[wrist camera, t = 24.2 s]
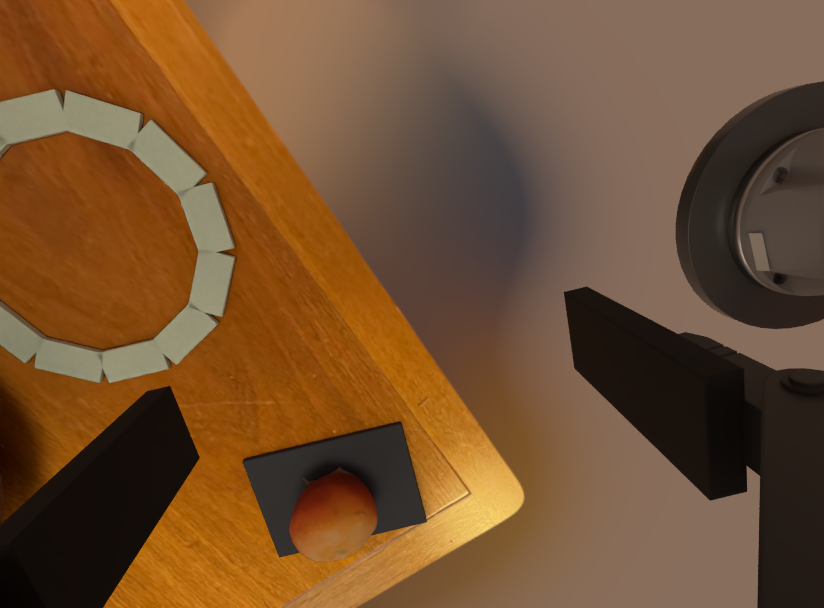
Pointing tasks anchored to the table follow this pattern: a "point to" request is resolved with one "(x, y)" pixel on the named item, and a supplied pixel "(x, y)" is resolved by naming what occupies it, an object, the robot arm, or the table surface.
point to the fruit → (333, 517)
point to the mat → (355, 453)
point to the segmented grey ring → (202, 211)
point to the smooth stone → (1, 500)
